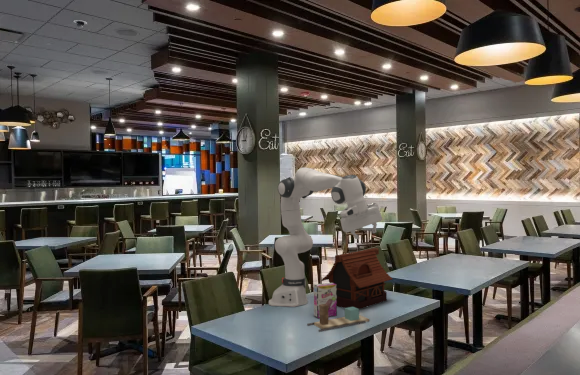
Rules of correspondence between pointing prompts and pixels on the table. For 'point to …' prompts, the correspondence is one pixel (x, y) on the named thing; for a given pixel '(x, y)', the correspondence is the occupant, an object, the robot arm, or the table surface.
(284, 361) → the table surface
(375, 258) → the house
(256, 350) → the table surface
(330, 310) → the candy bar box
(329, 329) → the track
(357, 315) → the cube
